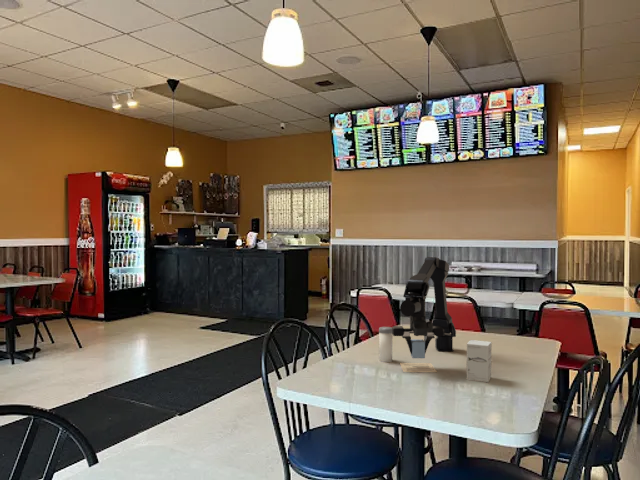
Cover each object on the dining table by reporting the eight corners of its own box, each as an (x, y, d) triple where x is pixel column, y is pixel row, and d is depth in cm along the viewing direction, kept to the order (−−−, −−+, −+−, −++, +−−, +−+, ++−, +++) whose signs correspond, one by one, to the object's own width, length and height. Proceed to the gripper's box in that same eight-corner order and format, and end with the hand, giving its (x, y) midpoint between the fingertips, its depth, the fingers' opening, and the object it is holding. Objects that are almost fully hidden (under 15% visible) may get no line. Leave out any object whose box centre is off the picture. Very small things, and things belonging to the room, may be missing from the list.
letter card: (430, 363, 188) (430, 363, 188) (437, 372, 176) (437, 371, 176) (399, 363, 189) (399, 363, 189) (403, 372, 177) (403, 371, 177)
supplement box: (466, 380, 167) (465, 343, 167) (470, 374, 174) (470, 339, 174) (488, 383, 164) (488, 345, 164) (491, 377, 170) (491, 341, 170)
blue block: (422, 355, 185) (422, 339, 185) (425, 358, 180) (424, 342, 180) (410, 355, 185) (410, 339, 185) (412, 358, 180) (412, 342, 180)
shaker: (394, 360, 194) (394, 327, 194) (390, 363, 189) (390, 330, 189) (381, 358, 197) (381, 326, 196) (376, 361, 192) (377, 328, 192)
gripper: (394, 316, 175) (395, 359, 175) (447, 316, 174) (447, 359, 174) (391, 311, 186) (391, 352, 186) (441, 311, 185) (441, 352, 185)
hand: (417, 354), depth 182 cm, fingers closed on blue block, 4 cm apart
